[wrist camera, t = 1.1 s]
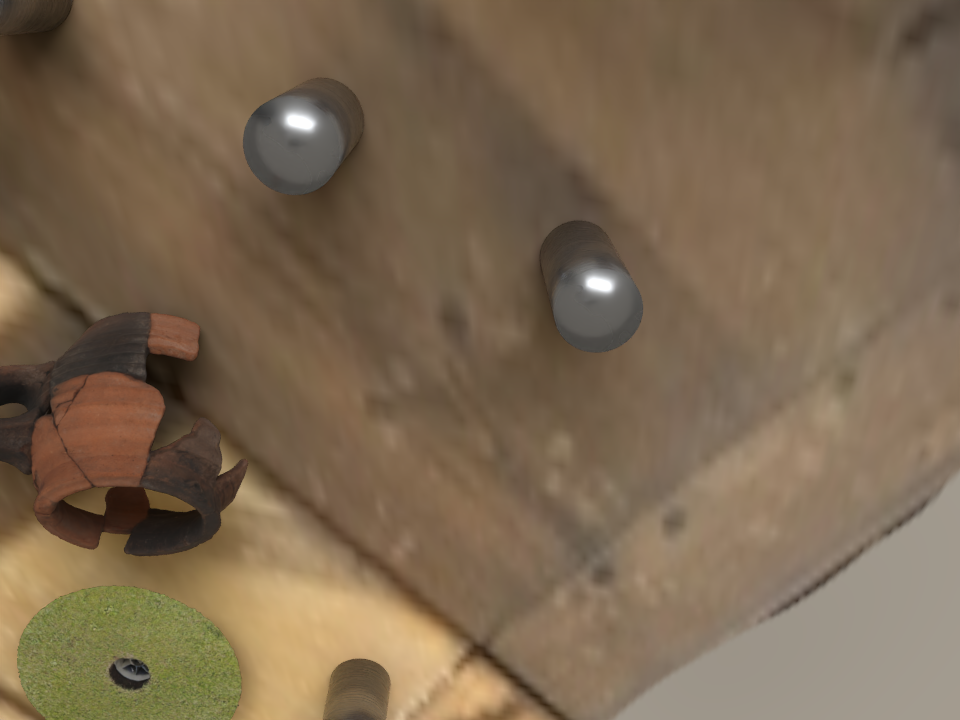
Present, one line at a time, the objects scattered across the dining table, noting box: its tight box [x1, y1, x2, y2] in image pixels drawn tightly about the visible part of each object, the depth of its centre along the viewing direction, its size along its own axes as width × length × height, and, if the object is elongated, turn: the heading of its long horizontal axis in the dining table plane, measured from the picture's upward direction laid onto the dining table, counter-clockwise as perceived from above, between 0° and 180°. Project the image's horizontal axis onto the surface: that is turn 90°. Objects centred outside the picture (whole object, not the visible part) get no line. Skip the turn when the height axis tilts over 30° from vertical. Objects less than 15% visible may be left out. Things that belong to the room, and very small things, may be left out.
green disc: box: [17, 586, 241, 720], centre depth 45 cm, size 11×11×2 cm
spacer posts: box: [0, 0, 643, 720], centre depth 37 cm, size 27×30×7 cm
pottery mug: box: [0, 312, 248, 556], centre depth 38 cm, size 12×9×8 cm
